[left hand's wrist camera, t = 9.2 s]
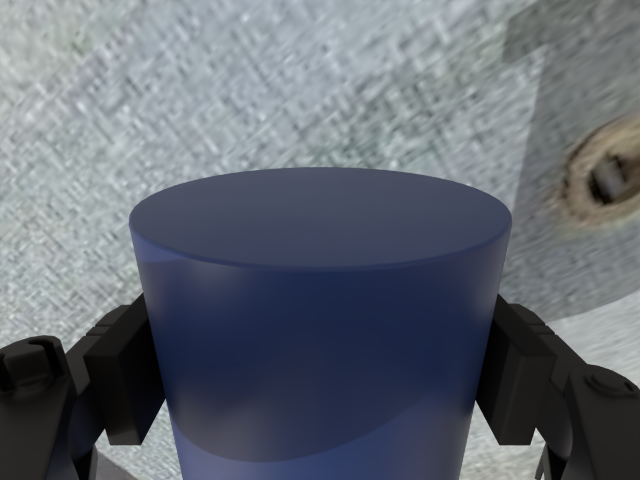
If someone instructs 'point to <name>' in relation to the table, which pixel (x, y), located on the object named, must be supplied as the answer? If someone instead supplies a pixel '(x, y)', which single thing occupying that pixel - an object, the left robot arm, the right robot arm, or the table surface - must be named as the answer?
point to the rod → (320, 320)
